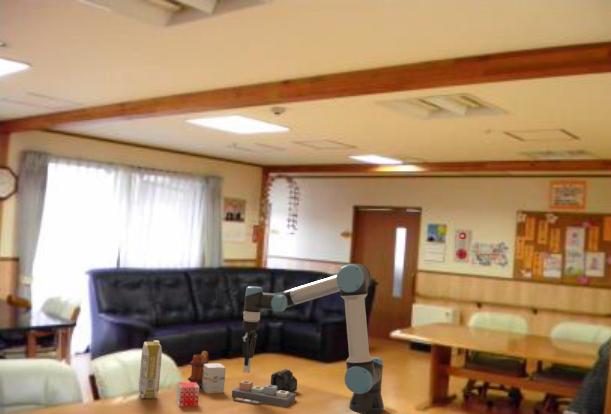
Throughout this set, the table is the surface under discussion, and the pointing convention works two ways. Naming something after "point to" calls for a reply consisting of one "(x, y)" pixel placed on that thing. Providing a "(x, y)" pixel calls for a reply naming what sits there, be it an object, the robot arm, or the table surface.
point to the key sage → (257, 389)
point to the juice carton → (150, 369)
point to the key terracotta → (245, 385)
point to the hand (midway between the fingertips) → (246, 372)
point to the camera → (284, 380)
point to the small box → (187, 394)
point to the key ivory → (282, 393)
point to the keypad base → (263, 397)
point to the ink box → (213, 378)
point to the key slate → (270, 389)
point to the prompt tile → (247, 401)
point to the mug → (198, 367)
